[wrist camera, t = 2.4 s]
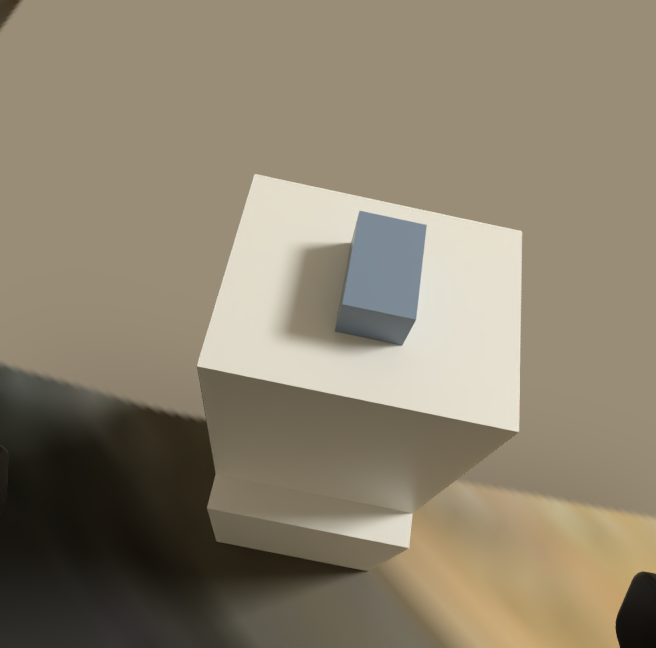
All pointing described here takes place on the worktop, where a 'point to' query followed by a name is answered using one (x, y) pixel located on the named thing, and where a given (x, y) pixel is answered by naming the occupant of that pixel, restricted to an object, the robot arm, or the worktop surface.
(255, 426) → the block
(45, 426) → the worktop surface
